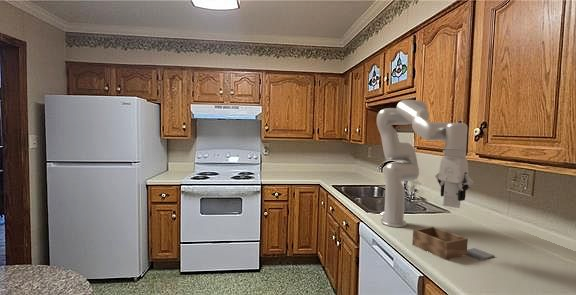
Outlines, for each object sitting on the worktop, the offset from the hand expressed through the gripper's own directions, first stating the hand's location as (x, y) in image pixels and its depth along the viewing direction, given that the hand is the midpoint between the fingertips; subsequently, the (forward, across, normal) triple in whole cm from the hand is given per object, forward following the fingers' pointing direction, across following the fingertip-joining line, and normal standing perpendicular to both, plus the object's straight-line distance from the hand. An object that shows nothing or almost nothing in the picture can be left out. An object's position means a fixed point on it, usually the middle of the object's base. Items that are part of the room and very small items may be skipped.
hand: (452, 197), depth 125 cm
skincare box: (+3, 0, 0) cm, 3 cm away
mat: (+22, +7, +8) cm, 24 cm away
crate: (+22, -3, -3) cm, 22 cm away
